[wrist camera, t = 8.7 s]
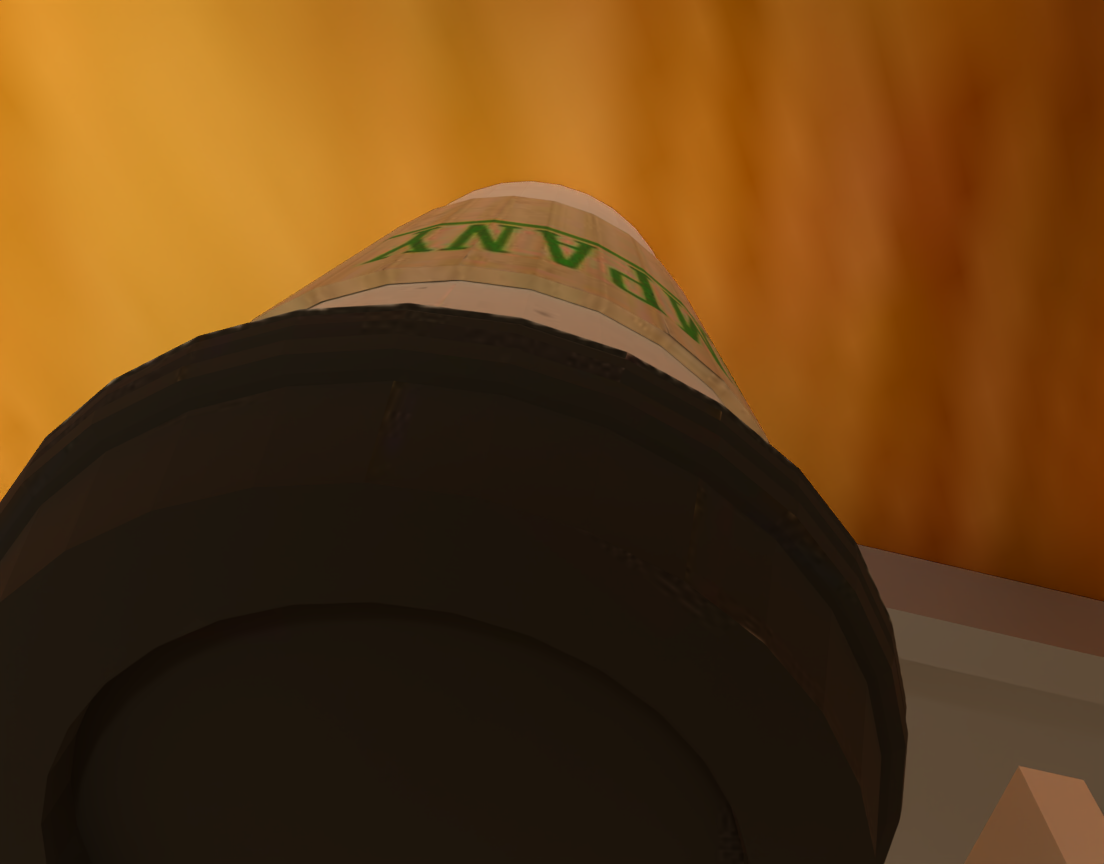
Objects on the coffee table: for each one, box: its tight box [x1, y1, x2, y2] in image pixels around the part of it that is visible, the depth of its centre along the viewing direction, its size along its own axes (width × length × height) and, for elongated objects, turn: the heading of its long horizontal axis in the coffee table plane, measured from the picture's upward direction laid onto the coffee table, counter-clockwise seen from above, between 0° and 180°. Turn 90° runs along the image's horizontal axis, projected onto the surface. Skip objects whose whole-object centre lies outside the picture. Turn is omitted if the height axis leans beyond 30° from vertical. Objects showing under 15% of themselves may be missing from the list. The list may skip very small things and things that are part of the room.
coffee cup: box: [0, 181, 908, 864], centre depth 16 cm, size 10×10×15 cm
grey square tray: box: [857, 544, 1104, 864], centre depth 27 cm, size 15×15×2 cm
